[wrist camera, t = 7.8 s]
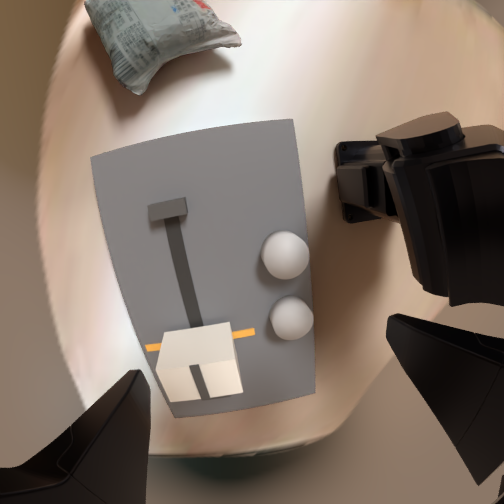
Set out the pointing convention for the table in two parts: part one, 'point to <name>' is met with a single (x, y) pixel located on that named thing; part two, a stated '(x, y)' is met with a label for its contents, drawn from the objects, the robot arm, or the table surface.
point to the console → (216, 251)
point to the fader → (199, 363)
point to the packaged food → (155, 34)
